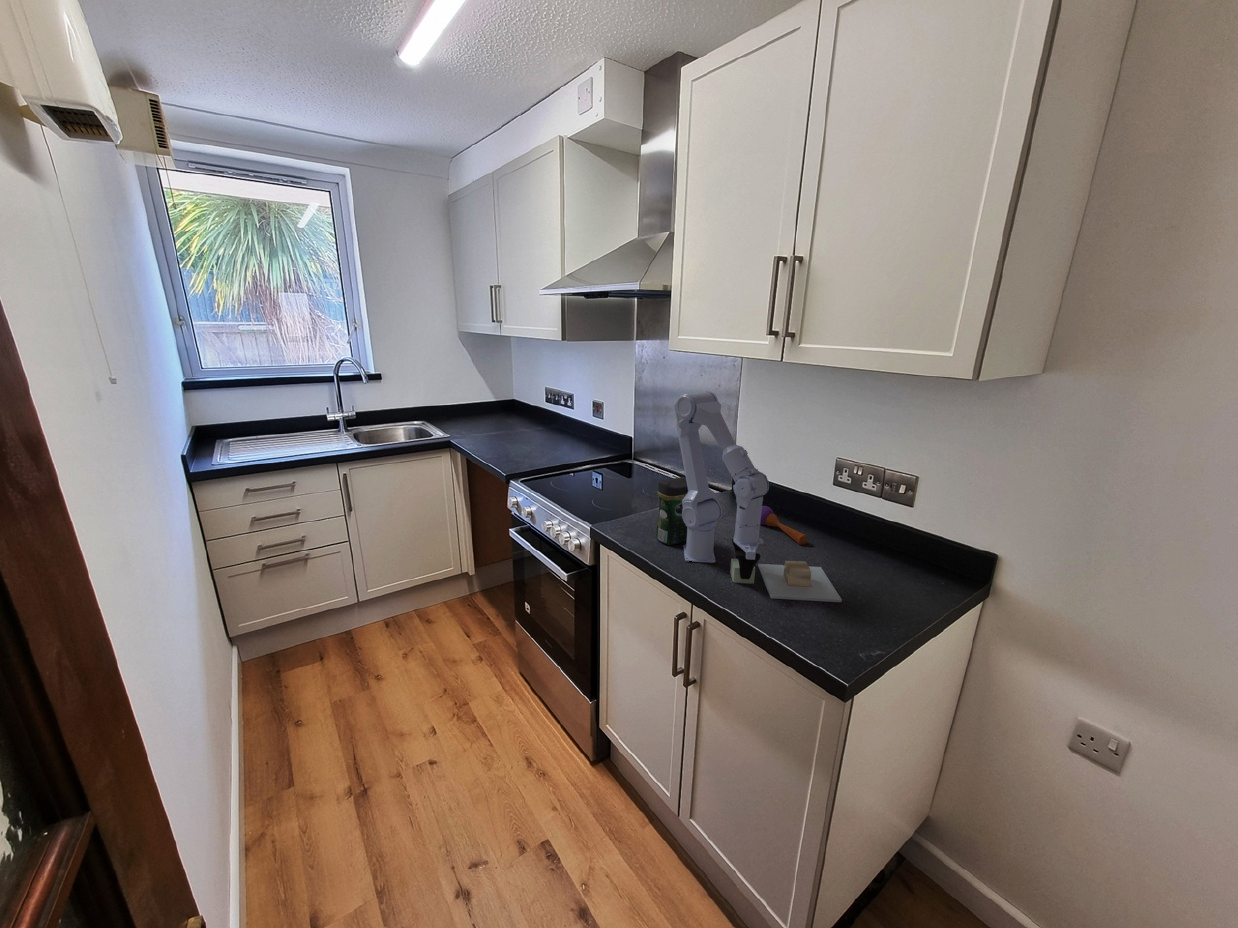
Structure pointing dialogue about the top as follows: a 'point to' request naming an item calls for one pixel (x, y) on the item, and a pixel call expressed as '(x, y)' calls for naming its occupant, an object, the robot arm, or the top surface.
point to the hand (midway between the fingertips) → (743, 572)
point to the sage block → (736, 573)
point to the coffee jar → (671, 511)
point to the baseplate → (781, 590)
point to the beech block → (797, 573)
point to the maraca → (781, 525)
